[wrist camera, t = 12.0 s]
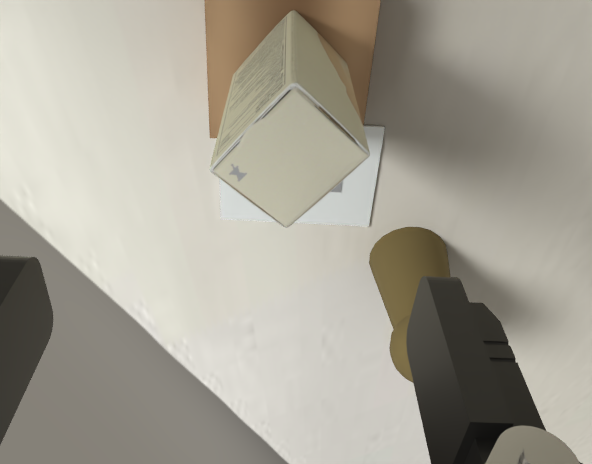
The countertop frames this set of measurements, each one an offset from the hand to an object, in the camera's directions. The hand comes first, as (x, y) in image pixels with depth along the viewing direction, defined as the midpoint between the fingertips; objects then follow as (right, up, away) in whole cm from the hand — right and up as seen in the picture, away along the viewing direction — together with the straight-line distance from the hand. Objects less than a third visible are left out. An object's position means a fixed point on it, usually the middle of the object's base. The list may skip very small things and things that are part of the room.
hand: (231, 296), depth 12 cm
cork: (+10, -1, +32) cm, 33 cm away
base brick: (+1, +13, +22) cm, 25 cm away
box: (+1, +11, +19) cm, 22 cm away
